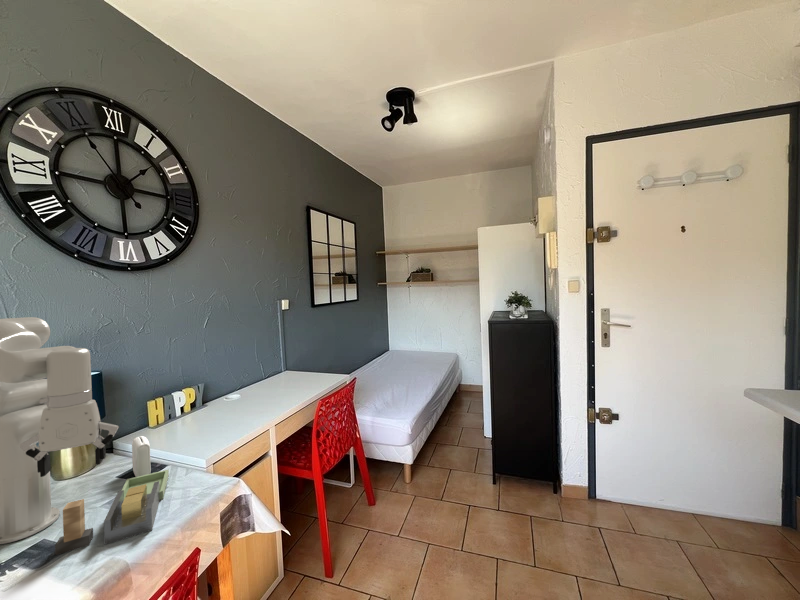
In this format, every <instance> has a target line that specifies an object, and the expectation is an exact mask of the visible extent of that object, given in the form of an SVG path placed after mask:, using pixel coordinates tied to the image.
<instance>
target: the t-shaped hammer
mask: <svg viewBox="0 0 800 600" xmlns="http://www.w3.org/2000/svg"><path fill="white" fill-rule="evenodd" d="M62 524H63V525H62V528H63V532H62V533H63V535H61V536H60V537H59V538H58V540H57V542H56V543H55V544H54V553H55V556H58V555H61V554H64V553H68V552H71V551H74V550H78V549H81V548H85V547H87V546H90V545H91V543H92V541H93V539H94V527H91V528H87V529H86V518H85V499H84V498H83V499H82V498H81V499H79V500H73V501H70V502H67V503H66V504H65V506H64V507H63V509H62Z"/></svg>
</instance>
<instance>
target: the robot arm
mask: <svg viewBox="0 0 800 600" xmlns="http://www.w3.org/2000/svg"><path fill="white" fill-rule="evenodd" d="M50 336H51V328H50V325H49V324H48V323H47V321H45V320H44V319H42V318H39V317H35V316H32V317H31V316H29V317H28V316H27V317H14V318H13V317H7V318H0V545H4V544H9V543H13V542H17V541H19V540H23V539H25V538H29V537H30V536H33V535H35V534H37V533H39V532H41V531H43V530H45V529H47V528H48V527H50V526H51V525H52V524H54V522H56V521H57V520H58V518H59V517H60V516H61V515H60V509H59V508H58V507H52V494H51V493H52V491H51V456H50V454H49V453H50V452H56V451H61V450H67V449H71V448H77V447H82V446H83V447H84V446H87V445H91V444H92V445H94V446H95V447H96V448H95V450H94V452H95V453H94V455H95V465H97V466H99V465H101V463H102V462H103V460H105V459H106V456H107V455H106V451H107V450H106V445H107V444H108V443H109V442H110V441H111V440H112V439H113V437H114V436H115V435H116V433H117V431H118V429H119V428H120V426H119V425H118V424H117V425H116V424H113V423H108V422H102V421H101V415H100V411H99V407H98V403H97V402H96V400H95V399H93V391H92V390H93V388H92V362H91V352H90V350H89V349H88V348H85V347H75V346H72V345H61V346H60V345H59V346H52V347H51V346H49V347H43V345H45V344H46V342H47V341H49V339H50ZM102 430H104V431H108V434H107V436H105V437H103V436H102ZM37 443H38V445H37Z"/></svg>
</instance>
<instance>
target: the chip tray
mask: <svg viewBox="0 0 800 600" xmlns="http://www.w3.org/2000/svg"><path fill="white" fill-rule="evenodd" d="M169 472H170V471H169V469H164V470H161V471H156V472H152V473H150V474H147V475H143V476H139V477H136V476H135V477H131V478H126V480H125V483H124V485H123V486H122V489H121V491H122V490H124V499H125V497H126V494H127V492H128V489H129V488H133V487H137V486H141V485H145V484H147V494H150V493H151V491H152V488H153V485H154V482H158V481H159V490H160V501H161V500H163V499H164V498H165V493H166V489H167V486H168V482H167V481H169V478H168V477H170V476H169V475H170V474H169Z"/></svg>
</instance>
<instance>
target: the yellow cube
mask: <svg viewBox="0 0 800 600" xmlns="http://www.w3.org/2000/svg"><path fill="white" fill-rule="evenodd" d="M143 492H144V505H145V502H146V499H147V484H145V485H141V486H137V487H133V488H129V489H128V492H127V494H126V497H127V496H131V495H135V494H139V493H143Z"/></svg>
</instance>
